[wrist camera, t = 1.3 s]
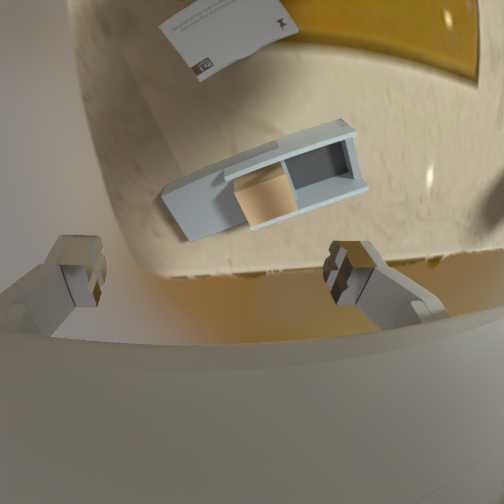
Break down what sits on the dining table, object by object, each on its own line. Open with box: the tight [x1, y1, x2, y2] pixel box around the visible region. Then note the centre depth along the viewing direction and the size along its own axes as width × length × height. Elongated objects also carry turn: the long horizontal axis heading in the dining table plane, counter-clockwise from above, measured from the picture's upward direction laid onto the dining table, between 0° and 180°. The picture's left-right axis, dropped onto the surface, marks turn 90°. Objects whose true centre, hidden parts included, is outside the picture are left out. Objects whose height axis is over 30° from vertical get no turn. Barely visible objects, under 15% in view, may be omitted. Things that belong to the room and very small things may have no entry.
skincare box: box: [159, 0, 299, 82], centre depth 20 cm, size 8×6×15 cm
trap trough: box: [161, 119, 369, 243], centre depth 36 cm, size 25×8×6 cm, turn 111°
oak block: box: [234, 161, 298, 227], centre depth 34 cm, size 6×5×4 cm
